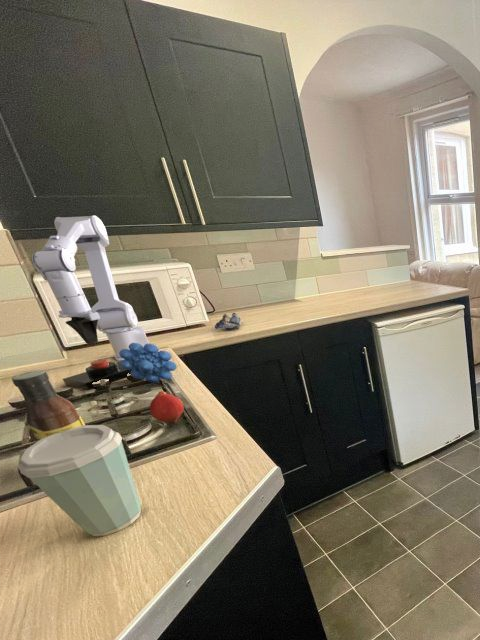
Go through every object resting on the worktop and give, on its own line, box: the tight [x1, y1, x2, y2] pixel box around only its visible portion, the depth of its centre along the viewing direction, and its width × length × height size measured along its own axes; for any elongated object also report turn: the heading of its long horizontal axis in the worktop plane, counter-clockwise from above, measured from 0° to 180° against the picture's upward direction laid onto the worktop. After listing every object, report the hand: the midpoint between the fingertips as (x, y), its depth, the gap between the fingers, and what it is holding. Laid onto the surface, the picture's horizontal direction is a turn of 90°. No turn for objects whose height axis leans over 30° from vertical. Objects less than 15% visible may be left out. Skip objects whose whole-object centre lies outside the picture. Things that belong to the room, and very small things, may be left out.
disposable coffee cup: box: [17, 424, 142, 538], centre depth 62 cm, size 11×11×15 cm
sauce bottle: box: [11, 369, 86, 442], centre depth 75 cm, size 7×6×20 cm
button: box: [90, 359, 109, 369], centre depth 121 cm, size 4×4×2 cm
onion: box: [149, 390, 185, 424], centre depth 93 cm, size 6×6×8 cm
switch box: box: [62, 361, 131, 391], centre depth 122 cm, size 14×11×4 cm
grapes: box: [119, 343, 178, 384], centre depth 115 cm, size 12×7×12 cm, turn 117°
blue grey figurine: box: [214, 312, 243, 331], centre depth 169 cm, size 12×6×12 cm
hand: (92, 342), depth 121 cm, fingers closed
